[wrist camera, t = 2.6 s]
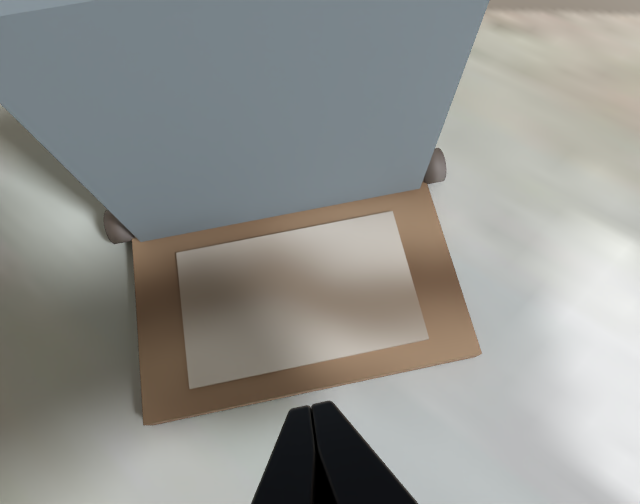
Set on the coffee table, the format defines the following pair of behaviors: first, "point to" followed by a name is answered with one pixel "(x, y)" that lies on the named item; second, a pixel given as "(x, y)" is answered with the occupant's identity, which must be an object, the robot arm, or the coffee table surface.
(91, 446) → the coffee table surface
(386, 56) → the door
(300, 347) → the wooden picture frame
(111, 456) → the coffee table surface
